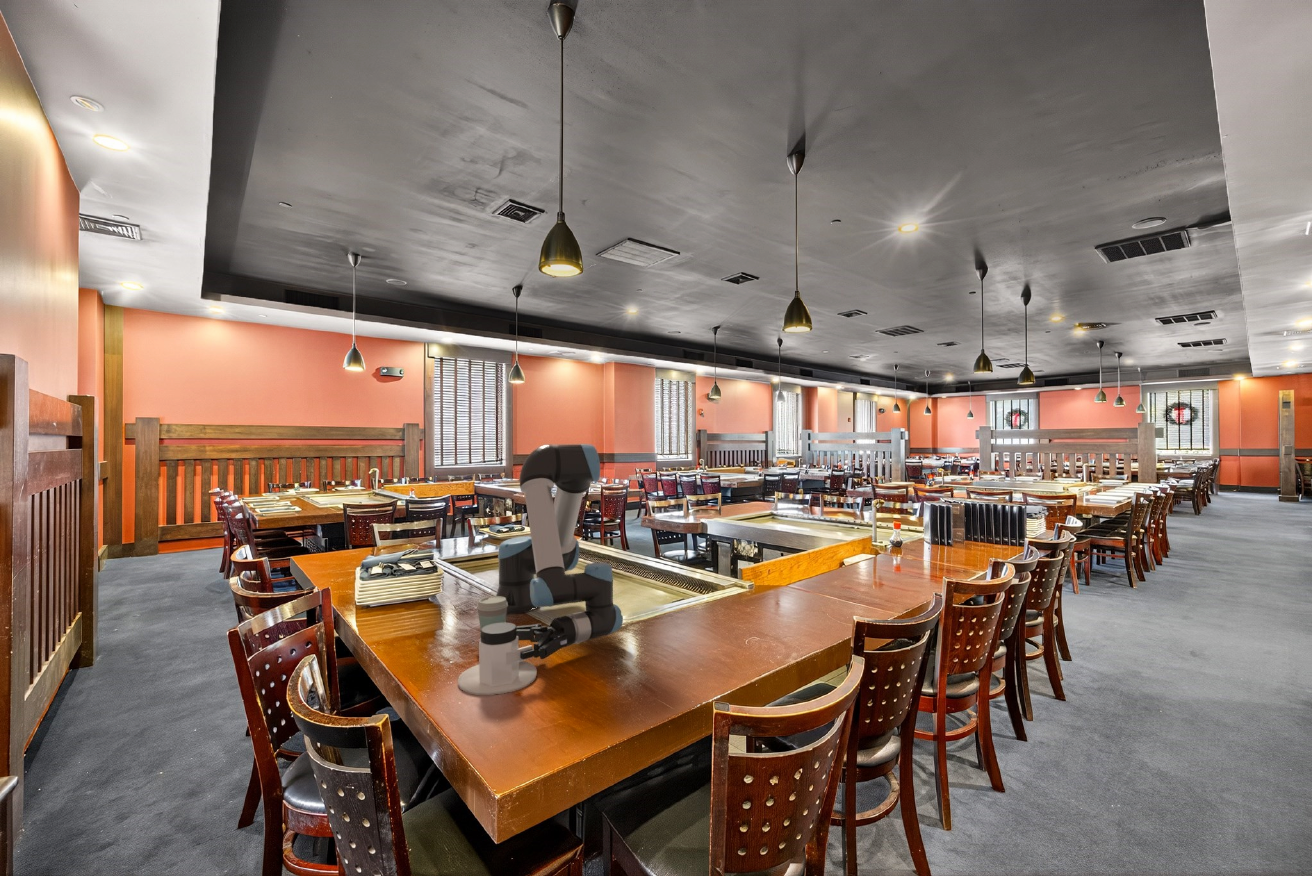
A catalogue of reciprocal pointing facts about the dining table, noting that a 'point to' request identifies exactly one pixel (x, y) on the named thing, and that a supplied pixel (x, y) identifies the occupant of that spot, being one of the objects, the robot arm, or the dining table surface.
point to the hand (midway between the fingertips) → (492, 650)
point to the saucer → (472, 686)
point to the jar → (497, 654)
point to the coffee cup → (492, 610)
